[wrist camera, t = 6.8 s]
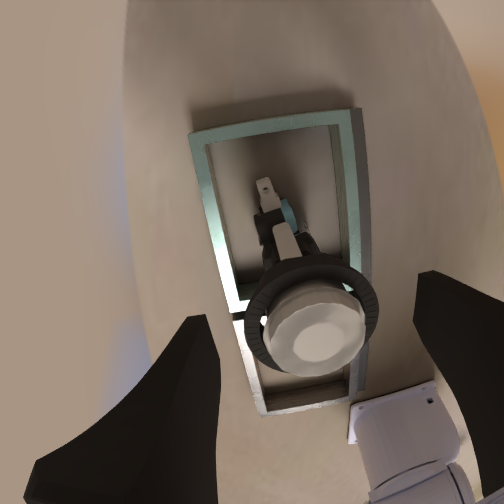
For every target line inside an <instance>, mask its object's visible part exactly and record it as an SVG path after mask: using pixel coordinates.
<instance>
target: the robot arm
mask: <svg viewBox="0 0 504 504" xmlns="http://www.w3.org/2000/svg"><path fill="white" fill-rule="evenodd" d="M413 323H414V325H415V327H416V329H417V332H418V334H419V336H420V338H421V340H422V342H423V344H424V346H425V348H426V349H427V351H428V352H429V354H430V356H431V357H432V359H433V361H434V362H435V364H436V365H437V367H438V369H439V370H440V372H441V373H442V375H443V377H444V378H445V380H446V382H447V383H448V385H449V387H450V388H451V390H452V392H453V394H454V396H455V398H456V400H457V402H458V405H459V407H460V410H461V412H462V414H463V417H464V420H465V422H466V425H467V428H468V431H469V434H470V437H471V440H472V444H473V447H474V451H475V455H476V459H477V463H478V468H479V474H480V479H481V486H482V494H483V496H484V499H482V500H480V501H479V502H477V503H475V498H474V494H473V491H472V488H471V485H470V483H469V480H468V478H467V476H466V474H465V472H464V470H463V469H462V467H461V466H460V465H459V464H454V463H453V462H455V461H456V459H457V458H458V455H459V451H460V441H459V435H458V432H457V429H456V427H455V424H454V422H453V421H452V419H451V417H450V415H449V413H448V411H447V409H446V407H445V406H444V404H443V402H442V400H441V398H440V396H439V395H438V393H437V391H436V389H435V386H436V382H435V381H434V380H432V381H429V382H426V383H423V384H421V385H418V386H415V387H411V388H408V389H405V390H402V391H399V392H396V393H392V394H389V395H385V396H382V397H378V398H375V399H371V400H367V401H364V402H360V403H356V404H353V405H352V406H351V410H350V421H349V432H348V444H354V443H358V446H359V450H360V453H361V456H362V460H363V463H364V467H365V470H366V474H367V477H368V481H369V484H370V488H371V491H370V492H368V495H369V498H370V500H368V501H366V502H364V504H504V302H502V301H500V300H498V299H495V298H493V297H491V296H489V295H486V294H484V293H482V292H480V291H478V290H476V289H474V288H472V287H470V286H468V285H466V284H463V283H461V282H459V281H457V280H455V279H453V278H451V277H449V276H446V275H444V274H442V273H439V272H437V271H434V270H432V271H428V272H423V273H419V274H418V283H417V292H416V301H415V309H414V316H413ZM220 393H221V369H220V358H219V355H218V352H217V349H216V346H215V343H214V340H213V337H212V333H211V330H210V327H209V324H208V321H207V318H206V315H205V314H203V315H196V316H189V317H187V318H186V319H185V321H184V322H183V323H182V325H181V326H180V328H179V329H178V330H177V332H176V333H175V335H174V336H173V338H172V339H171V341H170V342H169V344H168V345H167V346H166V348H165V349H164V351H163V352H162V353H161V355H160V356H159V358H158V359H157V360H156V362H155V363H154V364H153V365H152V367H151V368H150V369H149V370H148V372H147V373H146V374H145V375H144V377H143V378H142V379H141V380H140V381H139V383H138V384H137V385H136V386H135V387H134V388H133V389H132V390H131V391H130V392H129V393H128V394H127V395H126V396H125V397H124V399H122V401H120V402H119V404H117V405H116V406H115V407H114V408H113V409H112V410H110V411H109V412H108V413H107V414H106V415H105V416H103V417H102V418H101V419H100V420H99V421H98V422H97V423H95V424H94V425H93V426H91V427H90V428H89V429H87V430H86V431H85V432H83V433H82V434H80V435H79V436H77V437H76V438H74V439H73V440H72V441H70V442H68V443H67V444H65V445H64V446H62V447H60V448H58V449H56V450H55V451H53V452H51V453H49V454H47V455H46V456H44V457H42V458H40V459H38V460H36V462H35V464H34V467H33V470H32V473H31V475H30V478H29V482H28V485H27V487H26V490H25V493H24V496H23V498H24V500H25V502H26V503H27V504H218V493H217V478H216V437H217V426H218V415H219V404H220Z"/></svg>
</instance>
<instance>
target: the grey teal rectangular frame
mask: <svg viewBox="0 0 504 504" xmlns="http://www.w3.org/2000/svg"><path fill="white" fill-rule="evenodd" d="M321 125H329V129H330V136H331V144H332V152H333V161H334V170H335V179H336V190H337V200H338V212H339V225H340V240H341V257H342V260H343V261H345V262H346V263H347V265H348V266H350V267H352V268H354V269H356V270H357V271H359V272H360V273H361V274H362V275H363V276H364V277H365V278H366V279H367V280H368V282H369V283H370V285H371V214H370V193H369V178H368V164H367V153H366V142H365V133H364V124H363V116H362V108H343V109H332V110H322V111H313V112H304V113H296V114H289V115H282V116H275V117H268V118H262V119H256V120H250V121H244V122H239V123H233V124H228V125H223V126H218V127H213V128H208V129H204V130H199V131H194V132H192V133H190V134H188V138H189V143H190V148H191V152H192V157H193V161H194V166H195V170H196V175H197V179H198V183H199V188H200V192H201V196H202V201H203V205H204V209H205V213H206V218H207V222H208V226H209V230H210V234H211V238H212V242H213V246H214V250H215V254H216V259H217V263H218V266H219V270H220V274H221V278H222V282H223V286H224V290H225V294H226V298H227V302H228V305H229V309H230V313H232V312H233V324H234V328H235V332H236V335H237V339H238V343H239V346H240V350H241V354H242V357H243V361H244V364H245V368H246V371H247V375H248V378H249V382H250V385H251V389H252V392H253V396H254V399H255V403H256V406H257V410H258V413H259V416H260V417H268V416H274V415H281V414H287V413H293V412H298V411H304V410H309V409H314V408H319V407H324V406H329V405H333V404H338V403H342V402H346V401H350V400H354V399H356V396H357V391H361V390H365V381H366V371H367V360H368V346H369V340H368V341H367V343H366V344H365V345H364V346H363V347H362V348H361V349H360V350H359V351H358V353H357V354H356V356H355V357H354V358H353V359H352V360H351V361H350V362H349V363H347V364H346V365H344V368H343V380H340V381H335V382H331V383H326V384H321V385H316V386H311V387H306V388H301V389H296V390H290V391H284V392H278V393H272V394H265V392H264V388H263V384H262V380H261V376H260V371H259V367H258V363H257V359H256V357H255V356H254V355H253V354H252V352H251V351H250V349H249V347H248V345H247V343H246V340H245V336H244V314H245V311H246V307H247V305H248V302H249V301H250V299H251V297H252V295H253V294H254V292H255V290H256V288H257V286H258V284H259V282H253V283H248V284H242V285H239V283H238V278H237V274H236V270H235V265H234V261H233V256H232V252H231V247H230V243H229V238H228V234H227V229H226V225H225V220H224V216H223V211H222V207H221V202H220V198H219V193H218V188H217V184H216V179H215V174H214V170H213V165H212V160H211V155H210V151H209V146H208V144H210V143H215V142H220V141H225V140H230V139H236V138H241V137H247V136H252V135H258V134H264V133H270V132H277V131H283V130H290V129H298V128H305V127H313V126H321ZM343 285H344V287H345V288H346V290H347V292H348V293H349V294H350V295H352V296H353V297H354V290H353V289H352V288H351V287H349V286H348V285H345V284H343ZM266 320H267V317H266V309H265V311H264V313H263V315H262V318H261V323H262V324H263V325H265V323H266Z"/></svg>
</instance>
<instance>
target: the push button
mask: <svg viewBox="0 0 504 504" xmlns="http://www.w3.org/2000/svg"><path fill="white" fill-rule="evenodd" d="M256 184H257V188H258V191H259V193H260V196H261V198H260V199H259V200H260V202H261V203H260V204H261V207H260V208H259V210H260V213H259V214H256V215H254V220H255V225H256V228H257V231H258V233H259V236H260V237H258V238H259V244H260V248H261V251H262V258H263V264H264V269H265V273H264V274H263V275H262V277H261V279H260V281H259V284H258V286H257V288H256V290H255V292H254V294H253V295H252V297H251V299H250V301H249V302H248V305H247V307H246V311H245V314H244V336H245V340H246V343H247V345H248V347H249V349H250V351H251V352H252V354H253V355H254V356H255V357H256V358H257V359H258V360H259V361H261V362H262V363H263V364H265V365H267V366H268V367H270V368H272V369H275V370H278V371H281V372H285V373H292V374H294V375H297V376H304V377H309V376H320V375H324V374H329V373H331V372H333V371H336V370H338V369H340V368H341V367H342V366H344V365H346V364H347V363H349V362H350V361H351V360H352V359H353V358H354V357H355V356H356V354H357V353H358V351H359V350H360V349H361V348H362V347H363V346H364V345H365V344H366V343H367V341H368V340H369V338H370V337H371V335H372V333H373V331H374V329H375V327H376V324H377V320H378V314H379V305H378V299H377V296H376V293H375V291H374V289H373V288H372V286H371V285H370V283H369V282H368V280H367V279H366V278H365V277H364V276H363V275H362V274H361V273H360V272H359V271H357V270H356V269H354V268H352V267H350V266H348V265H347V263H346V262H345V261H343V260H341V259H338V258H336V257H333V256H330V255H328V254H324V253H320V250H319V248H318V246H317V244H316V243H315V241H314V239H313V238H312V236H311V234H310V230H309V228H308V226H307V224H306V223H305V222H304V225H305V228H306V230H305V231H302V232H300V233H299V230H298V227H297V224H296V219H295V216H294V213H293V211H292V208H291V207H290V206H289V204H288V202H287V200H286V199H283V200H280V198H279V197H278V194H277V193H275V192H274V189H273V187H272V184H271V181H270V179H269V177H265V178H262V179H259V180H257V181H256ZM265 187H268V189H267V190H263V188H265ZM261 241H262V242H261ZM343 284H345V285H348V286H349V287H351V288H352V289H353V290H354V297H353V296H352V295H350V294H349V293H348V292H347V290H346V288H345V287H344V285H343ZM265 309H266V317H267V320H266V323H265V327H264V326H263V324H262V323H261V318H262V315H263V313H264V311H265Z"/></svg>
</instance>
